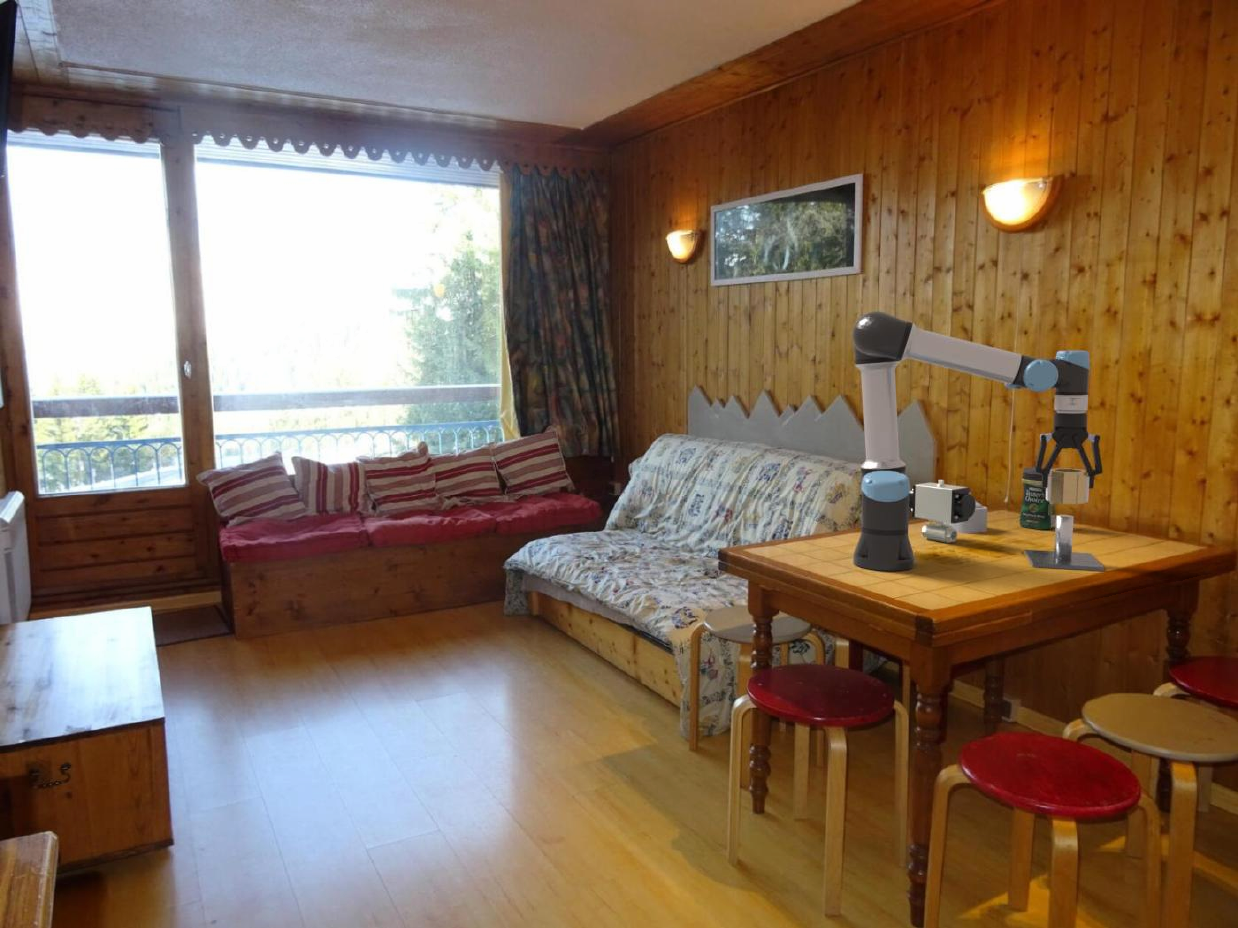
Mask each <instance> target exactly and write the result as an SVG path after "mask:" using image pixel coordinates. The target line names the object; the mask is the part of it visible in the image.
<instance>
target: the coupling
mask: <svg viewBox="0 0 1238 928" xmlns="http://www.w3.org/2000/svg"><path fill="white" fill-rule="evenodd" d="M1050 475H1051V498H1050V502H1053V503H1054V504H1060V505H1061V504H1062V505H1080V504H1081V505H1082V504H1086V502H1085V498H1086V476H1087V475H1088V473H1087V471H1086V469H1079V468H1078V469H1077V468H1065V467H1064V468H1058V467H1057V468H1051V470H1050Z"/></svg>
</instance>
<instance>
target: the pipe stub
mask: <svg viewBox="0 0 1238 928" xmlns="http://www.w3.org/2000/svg"><path fill="white" fill-rule="evenodd" d="M1074 520H1075V519H1074V516H1073V515H1069V514H1055V533H1054V550H1040V549H1039V550H1037V549H1036V550H1035V549H1024V555H1025V556H1026V558H1027V560H1028V561H1029V564H1030V565H1031V566H1032V568H1043V569H1058V570H1059V569H1062V570H1075V571H1076V570H1078V571H1092V572H1093V571H1095V572H1104V569H1105V567H1104V566H1103V564H1101V562H1100V561H1099V560H1098V559H1097V558H1096V557H1095V556H1094V554H1092V553H1091V552H1077V551H1076V552H1075V551H1072V550H1073V534H1074V533H1073V532H1074Z"/></svg>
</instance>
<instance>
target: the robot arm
mask: <svg viewBox="0 0 1238 928" xmlns="http://www.w3.org/2000/svg"><path fill="white" fill-rule="evenodd" d="M852 341H853V353H854V357H853V358H854V366H855V367H856V368H857V369H858V370H859V371H860V374H861V392H862V410H863V429H864V444H865V447H864V448H865V460H864V462H863V463H862V464H861V465H860V476H861V480H860V481H861V512H860V513H861V520H860V523H861V524H860V526H861V527H860V536H859V538H858V541H857V543H856V545H855V549H854V553H853V561H852V562H853V564H854V565H855V566H857V567H860V568H863V569H867V570H875V571H887V572H888V571H889V572H893V571H894V572H895V571H898V572H899V571H906V570H910V569H913V568H914V567H915V555H914V551H913V547H912V545H911V540H910V537H909V522H910V521H909V520H910V519H909V518H910V517H909V516H910V508H909V493H910V490H911V489H912V488H911V483H910V482H911V481H910V479H909V476H907V469H906V468H907V467H906V463H905V462H904V461H903V460H901V458H900V446H899V429H898V426H899V425H898V409H897V405H898V404H897V392H896V391H897V390H896V372H895V371H896V368H897V366H899V364H900V363H901V362H902V361H904V360H907V359H910V360H915V361H919V362H922V363H926V364H930V365H934V366H937V367H938V366H939V367H942V368H946V369H950V370H954V371H958V372H962V373H964V374H965V373H966V374H969V375H973V376H977V377H980V378H984V379H989V380H993V381H997V382H1000V383H1004V386H1005V387H1006V389H1010V390H1011V389H1012V390H1014V389H1015V390H1022V389H1023V390H1024V389H1025V390H1031V391H1033V392H1037V393H1043V392H1045V391H1048V390H1051V389H1054V406H1053V407H1054V408H1053V410H1055V411H1056V412H1054V414H1053V428H1052V430H1051V433H1040V434H1039V441H1040V443H1039V448H1038V454H1037V457H1036V459H1035V460H1036V462H1035V466H1034V467H1035V471H1036V472H1037V473H1041V474H1042V487H1046V500H1047V501H1050V498H1051V475H1050V474H1049V472H1050V470H1051V469H1053V466H1054V464H1055V462H1056V460H1057V458H1058V456H1059V455H1060V453H1061V452H1062V450H1063V449H1064V450H1065V449H1066V450H1067V449H1073V450H1076V452H1077V453H1078V455H1079V457H1080V460H1081V462H1082V464H1083V467H1084V468H1085V469H1084V470H1085V471H1086V472H1087V476H1086V498H1085V503H1089V496H1090V495H1089V493H1090V489H1091V490H1092V489H1094V487H1095V483H1094V482H1095V476H1096V475H1101V474H1103V471H1104V470H1103V464H1102V457H1101V452H1100V451H1101V450H1100V442H1101V435H1099V434H1097V433H1096V434H1093V433H1089V432H1088V428H1087V427H1088V414H1087V413H1086V411H1088V406H1089V405H1088V404H1089V403H1088V402H1089V401H1088V400H1089V385H1090V384H1089V381H1090V380H1089V379H1090V370H1091V367H1090V354H1089V352H1088V351H1087V350H1059V351H1057V352H1056V356H1055V357H1054V358H1036V357H1032V356H1028V355H1023V354H1022V353H1021V354H1020V353H1016V352H1012V351H1008V350H1006V349H1000V348H997V347H992V346H989V345H985V344H980V343H977V342H973V341H969V340H965V339H961V338H958V337H953V336H950V335H945V334H942V333H937V332H933V331H929V330H926V329H920V328H918V327H917V326H916V324H915V323H914V322H910V321H906V320H904V319H901V318H898V317H895V316H893V315H892V314H889V313H887V312H884V311H880V310H876V311H871V312H867V313H866V314H863V315H862V316H860V317H859V319H858V320H857V321H856V322H855V324H854V326H853V330H852ZM1051 438H1052V439H1053V441H1054V442H1055V446H1054V447H1053V450H1052V452H1051V454H1050V456H1049V457H1048V459H1047V461H1046V463H1045V465H1044V467H1043V464H1044V459H1045V455H1046V450H1047V446H1048V443H1049V442H1051V441H1050V440H1051ZM1087 439H1088V440H1089V442H1090V443H1091V450H1092V451H1091V452H1092V455H1093V456H1092V457H1093V462H1094V463H1093V464H1094V469H1093V467H1092V464H1091V462H1090V459H1089V458H1088V455H1087V454H1086V451H1085V448H1084V445H1083V444H1084V442H1086V440H1087ZM1042 468H1043V469H1042Z"/></svg>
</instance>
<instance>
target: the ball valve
mask: <svg viewBox="0 0 1238 928" xmlns="http://www.w3.org/2000/svg"><path fill="white" fill-rule="evenodd" d="M975 501H976V499H975V497H974V496H973V494H972V493H971V487H968V486H961V485H960V486H959V485H954V484H953V485H952V484H945V480H944V479H938V483H937V482H930V481H929V482H927V481H925V482H920V483H916V484H913V485H912V488H910V493H909V510H911V517H912V518H918V519H923V520H924V519H925V520H928V524H924V525H923V526H922V528H921V529H922V530H921V534H922V536H923V537H924V538H926V539H927V540H931V541H935V542H940V543H941V542H942V543H947V544H950V543H954V542H956V541H957V538H958V532H957V531H956V529H953V527H952V526H950V525H948V524H944V522H947V523H953V524H955V523H960V522H965V521H968V520H969V518H970V517H971V516H972V515H973V514H974V511H975V507H976V502H975ZM932 522H935V523H932Z"/></svg>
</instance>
